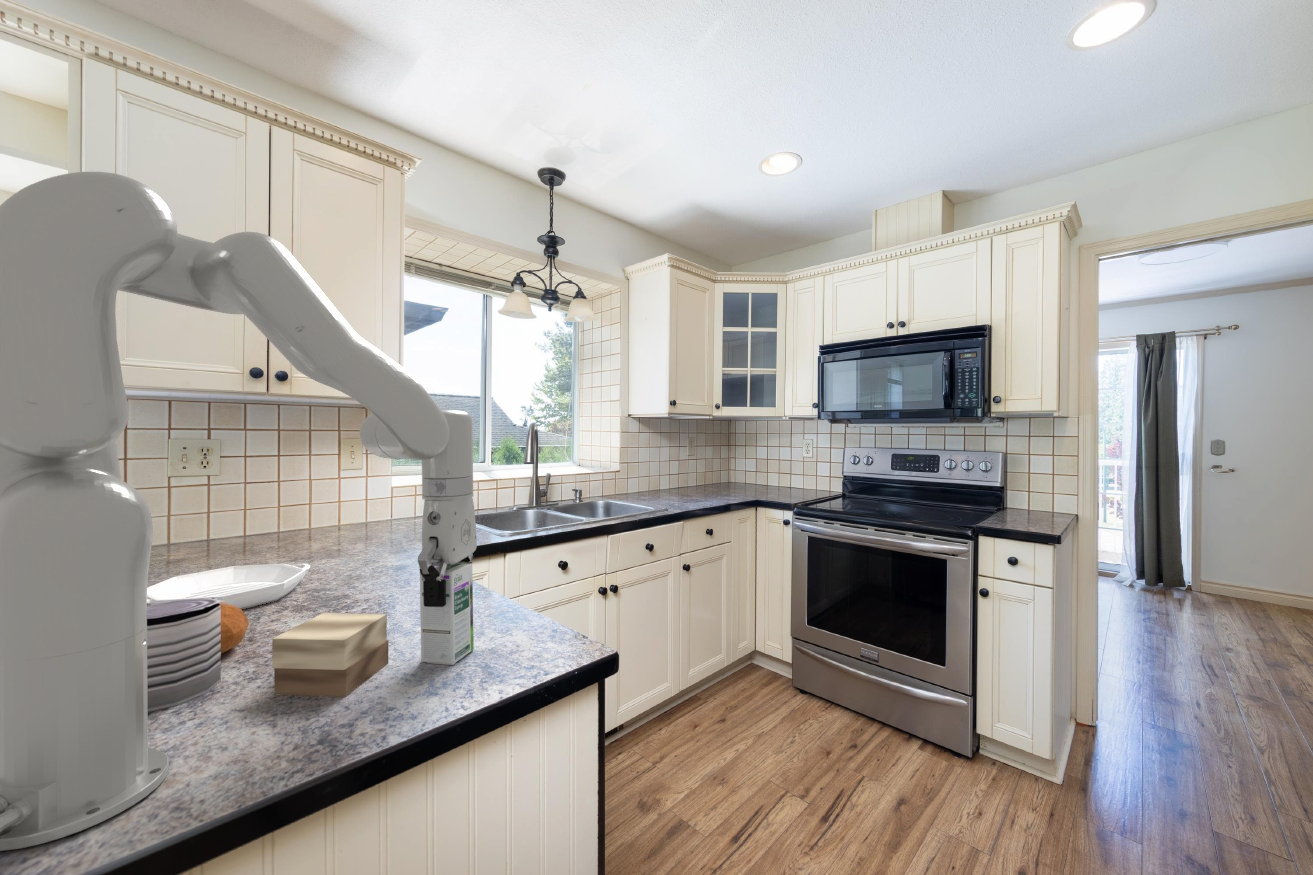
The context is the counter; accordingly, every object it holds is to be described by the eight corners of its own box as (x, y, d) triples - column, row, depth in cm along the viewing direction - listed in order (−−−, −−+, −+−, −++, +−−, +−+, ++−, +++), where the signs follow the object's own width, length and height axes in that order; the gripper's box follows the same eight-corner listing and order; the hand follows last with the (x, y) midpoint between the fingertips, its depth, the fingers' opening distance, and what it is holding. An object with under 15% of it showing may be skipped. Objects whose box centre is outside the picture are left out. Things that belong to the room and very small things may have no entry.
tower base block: (345, 699, 69) (345, 669, 69) (274, 697, 69) (274, 667, 69) (388, 665, 79) (388, 639, 79) (325, 664, 79) (325, 638, 79)
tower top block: (344, 669, 69) (344, 640, 69) (272, 667, 69) (272, 638, 69) (386, 640, 79) (386, 614, 79) (323, 638, 79) (323, 612, 79)
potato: (243, 635, 89) (243, 592, 89) (254, 655, 81) (254, 608, 81) (170, 651, 83) (170, 605, 83) (174, 675, 75) (174, 623, 75)
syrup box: (453, 666, 78) (453, 571, 78) (419, 662, 79) (419, 568, 79) (474, 650, 84) (474, 561, 83) (441, 647, 85) (441, 559, 85)
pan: (148, 636, 89) (148, 611, 89) (106, 609, 102) (106, 588, 102) (337, 590, 116) (337, 571, 116) (283, 573, 129) (283, 556, 129)
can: (80, 721, 63) (79, 623, 63) (143, 678, 74) (143, 595, 74) (193, 707, 66) (192, 615, 66) (237, 668, 77) (237, 588, 77)
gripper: (446, 495, 72) (448, 615, 73) (491, 482, 90) (492, 579, 90) (394, 495, 73) (396, 615, 73) (449, 482, 90) (450, 578, 90)
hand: (449, 595), depth 82 cm, fingers open, 9 cm apart
